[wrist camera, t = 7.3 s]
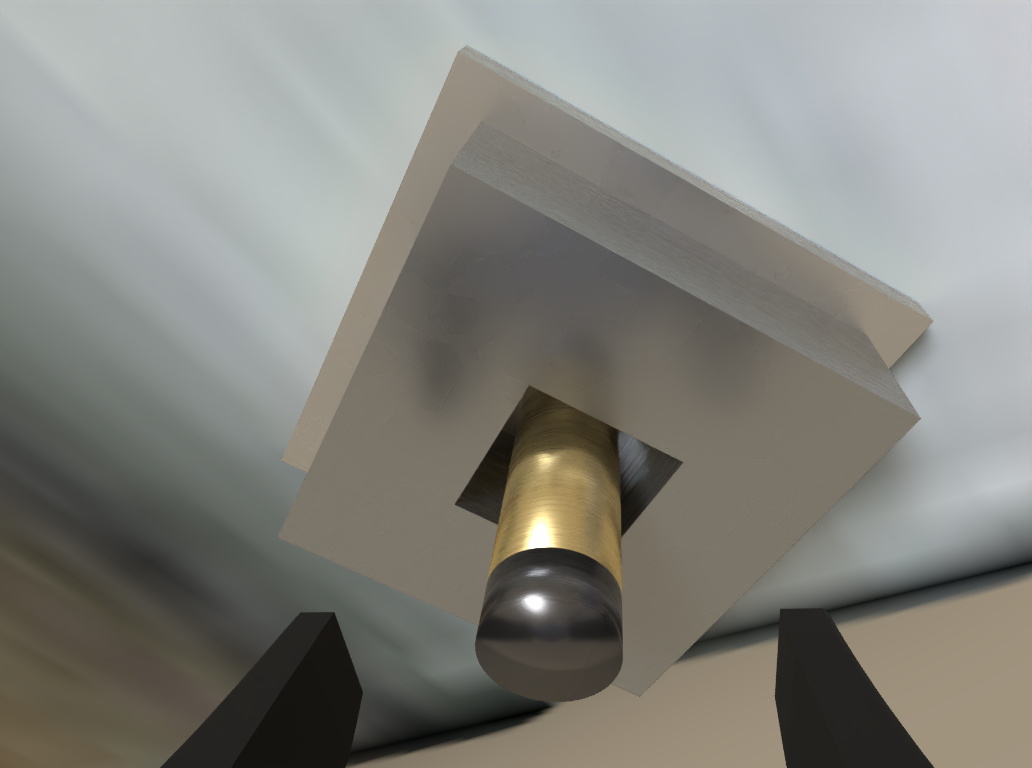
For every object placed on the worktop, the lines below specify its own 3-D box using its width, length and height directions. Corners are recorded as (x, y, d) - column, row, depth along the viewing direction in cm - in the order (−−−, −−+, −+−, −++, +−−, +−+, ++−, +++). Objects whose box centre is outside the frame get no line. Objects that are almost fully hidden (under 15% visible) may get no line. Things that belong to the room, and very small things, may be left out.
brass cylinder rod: (612, 348, 18) (613, 596, 11) (624, 430, 19) (631, 700, 12) (516, 360, 19) (460, 605, 12) (533, 439, 20) (491, 703, 13)
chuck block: (918, 302, 18) (1002, 403, 14) (645, 602, 24) (651, 730, 20) (466, 45, 16) (420, 79, 12) (293, 440, 22) (227, 546, 18)
